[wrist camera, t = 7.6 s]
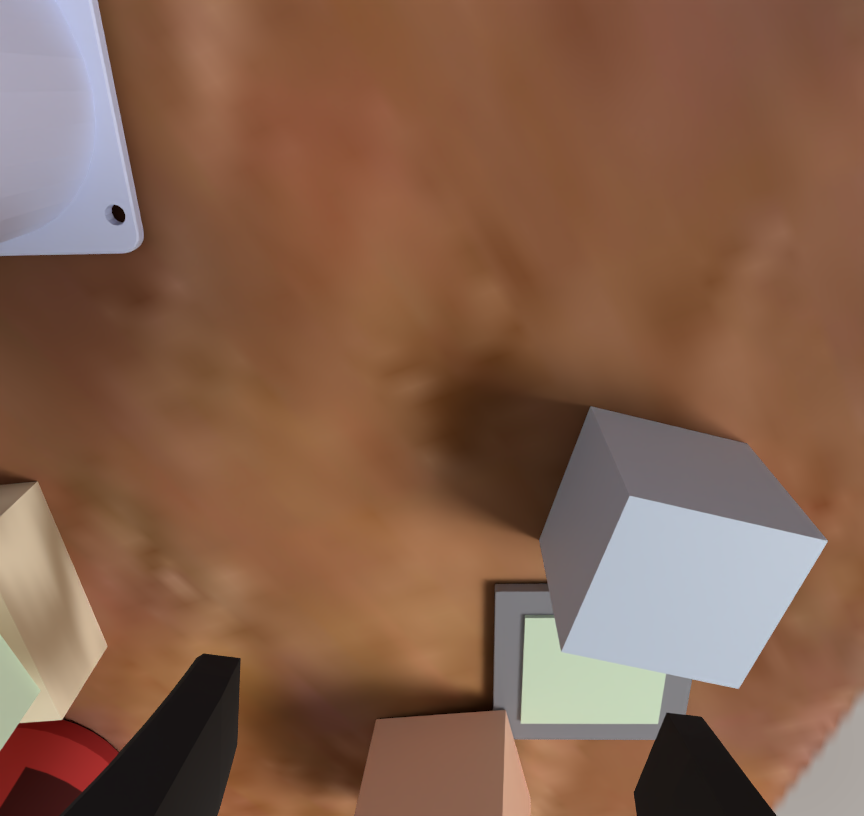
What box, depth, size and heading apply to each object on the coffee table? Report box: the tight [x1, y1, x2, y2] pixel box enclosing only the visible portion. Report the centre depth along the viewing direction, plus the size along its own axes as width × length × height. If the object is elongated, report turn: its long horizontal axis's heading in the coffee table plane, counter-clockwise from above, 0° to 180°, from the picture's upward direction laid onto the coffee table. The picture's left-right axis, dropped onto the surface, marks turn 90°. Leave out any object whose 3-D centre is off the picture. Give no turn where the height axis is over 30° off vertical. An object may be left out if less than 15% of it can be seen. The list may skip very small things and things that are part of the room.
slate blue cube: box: [539, 406, 828, 689], centre depth 20 cm, size 5×5×5 cm
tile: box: [493, 584, 692, 740], centre depth 24 cm, size 7×7×1 cm
